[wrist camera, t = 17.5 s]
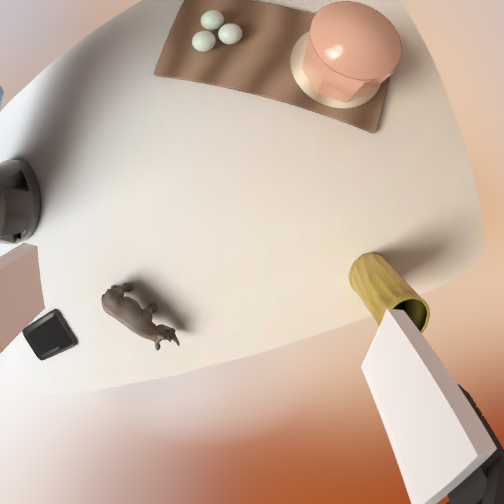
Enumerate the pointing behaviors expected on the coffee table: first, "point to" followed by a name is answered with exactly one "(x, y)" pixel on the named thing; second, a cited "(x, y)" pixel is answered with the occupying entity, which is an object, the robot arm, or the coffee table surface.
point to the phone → (49, 335)
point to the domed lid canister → (350, 50)
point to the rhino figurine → (135, 315)
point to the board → (253, 56)
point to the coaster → (307, 88)
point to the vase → (386, 290)
